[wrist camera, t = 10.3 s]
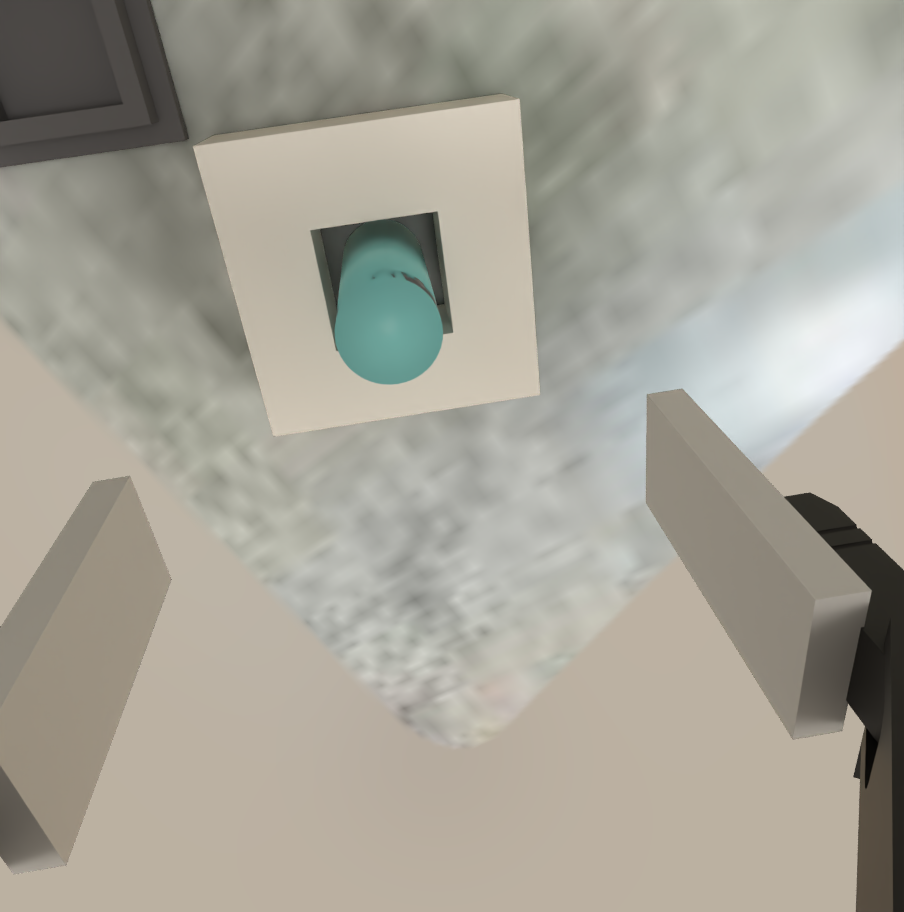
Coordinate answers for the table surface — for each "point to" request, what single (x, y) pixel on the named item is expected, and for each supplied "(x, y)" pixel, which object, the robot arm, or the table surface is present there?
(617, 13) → the table surface
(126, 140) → the grey square socket
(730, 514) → the robot arm
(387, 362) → the plug
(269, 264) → the port
